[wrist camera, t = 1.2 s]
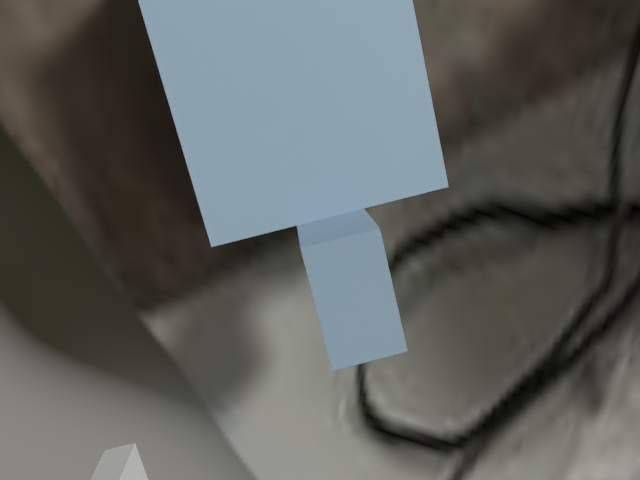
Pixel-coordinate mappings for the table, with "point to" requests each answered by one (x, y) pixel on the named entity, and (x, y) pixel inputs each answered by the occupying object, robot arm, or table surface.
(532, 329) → the table surface
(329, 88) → the lid
